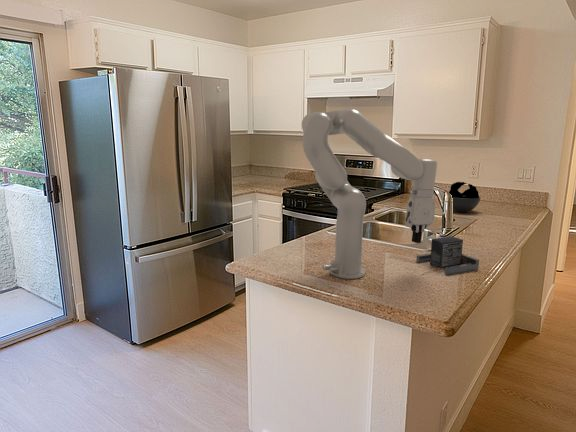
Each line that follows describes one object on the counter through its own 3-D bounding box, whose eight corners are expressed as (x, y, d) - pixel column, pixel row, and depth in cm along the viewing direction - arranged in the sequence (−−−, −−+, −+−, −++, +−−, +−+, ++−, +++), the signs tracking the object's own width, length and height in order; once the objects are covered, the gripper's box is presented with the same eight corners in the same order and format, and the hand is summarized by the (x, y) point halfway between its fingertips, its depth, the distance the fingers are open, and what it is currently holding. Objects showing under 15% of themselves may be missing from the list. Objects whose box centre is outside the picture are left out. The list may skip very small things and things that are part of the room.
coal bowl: (444, 207, 281) (447, 179, 277) (477, 210, 274) (480, 181, 270) (444, 213, 262) (447, 183, 258) (480, 216, 256) (483, 185, 252)
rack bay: (447, 275, 155) (448, 264, 154) (416, 261, 170) (417, 251, 169) (478, 269, 161) (479, 259, 160) (445, 257, 176) (445, 247, 175)
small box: (449, 260, 171) (451, 235, 169) (461, 265, 166) (464, 239, 163) (428, 263, 167) (431, 238, 165) (440, 268, 161) (443, 242, 159)
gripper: (412, 195, 147) (406, 246, 151) (445, 194, 153) (438, 243, 157) (399, 191, 153) (393, 240, 157) (431, 191, 160) (424, 238, 163)
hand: (416, 242), depth 157 cm, fingers closed
